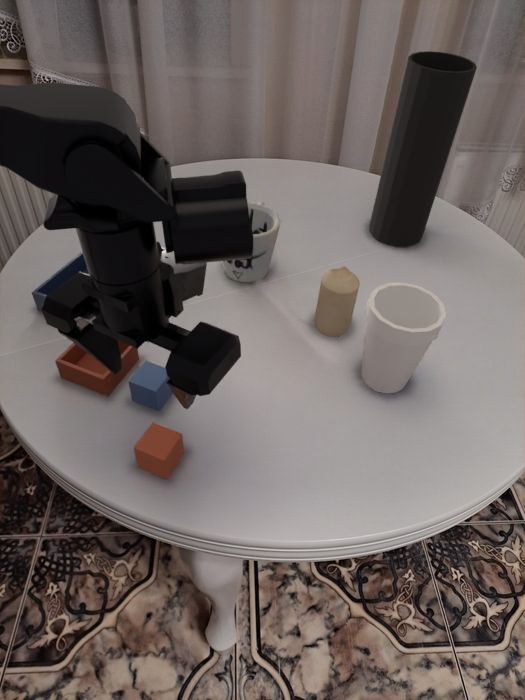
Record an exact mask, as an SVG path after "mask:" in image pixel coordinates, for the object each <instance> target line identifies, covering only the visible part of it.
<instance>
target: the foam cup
mask: <svg viewBox="0 0 525 700" xmlns="http://www.w3.org/2000/svg"><path fill="white" fill-rule="evenodd" d="M446 317H447V312H446V308H445V304H444V303H443V301H441V299H439V297H437V295H436V294H435V293H433V292H431V291H430V290H428V289H426V288H424V287H422V286H420V285H416V284H412V283H408V282H403V281H402V282H387V283H385V284H381V285H379V286H377V287H375V288H374V289H373V291H372V292H371V294H370V295H369V296H368V299H367V303H366V307H365V329H364V337H363V348H362V349H363V350H362V360H361V361H362V362H361V379H362V380H363V382H364V383H365V385H366V386H367V387H369V388H370V389H372V390H373V391H375V392H379V393H383V394H396V393H398V392H399V391H401V390H403V389H404V388H405V386H406V385H407V383H408V381H409V380H410V379H411V377H412V375H413V373H414V372H415V371H416V368H418V366H419V364H420V362H421V361H422V360H423V357H424V356H425V354H426V352H427V351H428V350H429V348H430V346H431V344H432V343H433V342H434V341H436V340H437V337H438V335H439V334H440V332H441V330H442V328H443V324H444V322H445V320H446Z"/></svg>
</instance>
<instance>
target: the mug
mask: <svg viewBox="0 0 525 700" xmlns="http://www.w3.org/2000/svg"><path fill="white" fill-rule="evenodd" d="M247 203H248V210H249V220H250V224H251V228H252V231H253V255H252V258H248V259H237V260H227V261H222V265H223V270H224V273H225V274H226V276H227V277H229V278H230V279H231V280H233V281H236V282H241V283H254V282H257V281H260V280H262V279H263V278H265V277H266V275H267V274H268V273H269V270H270V269H269V268H270V265H271V261H272V257H273V254H274V250H275V246H276V243H277V239H278V235H279V231H280V227H281V221H282V220H281V218H280V215H279V214H278V212H276V211H275V210H274V209H273V208H271V207H269V206H268V205H265V204H266V203H264V202H263V201H258V202H249V201H247Z"/></svg>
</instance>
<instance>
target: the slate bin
mask: <svg viewBox="0 0 525 700" xmlns="http://www.w3.org/2000/svg"><path fill="white" fill-rule="evenodd" d="M78 272H82V273H86V274H89V272H88V269H87V265H86V262H85V259H84V255H83V252H82V251H80V253H78V254H77V255H76V256H74V257H73V258H72V259H71V260H70V261H68V262H67V263H66V264H65V265H63V266H62V267H61V268H60V269H59V270H57V271H55V273H54V274H52V275H51V276H50V277H49V278H48V279H46V280H45V281H43V282H42V283H41V284H40V285H39V286H38V287H36V288H35V289H34V290H33V291H31V295H32V297H33V298H32V299H33V301H34V304H35V307H36V310H37V311H39V312H42V311H41V308H42V305H43V302H44V299H45V297H46V296H47V295H48V294H50V293H51V292H52V291H54V290H55V289H56V288H58V287H59V286H60V285H62V284H63V283H65V282H66V281H67V280H69V279H70V278H71V277H73V276H74V275H75V274H77V273H78Z"/></svg>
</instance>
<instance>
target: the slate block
mask: <svg viewBox="0 0 525 700" xmlns="http://www.w3.org/2000/svg"><path fill="white" fill-rule="evenodd" d="M169 379H170V378H169V377H168V376H167V373H166V368H165V367H164V366H162V365H159V364H157V363H153V362H151V361H148V360H144V361H143V363H142V364H141V365H140V367H138V369H137V370H136V371H135V372H134V374H133V375H132V376H131V377H130V378H129V379H128V386H129V392H130V397H131V401H132V402H133V403H136V404H138V405H141V406H144V407H146V408H149V409H150V410H153V411H156V412H160V410H161V409H162V408H163V407H164V405H165V404H166V403H167V402H168V400H169V399H170V397H171V396H172V395H173V394H174V393H173V392H172V390H171V389H170V387H169V386H168V384H167V381H168V380H169Z"/></svg>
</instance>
